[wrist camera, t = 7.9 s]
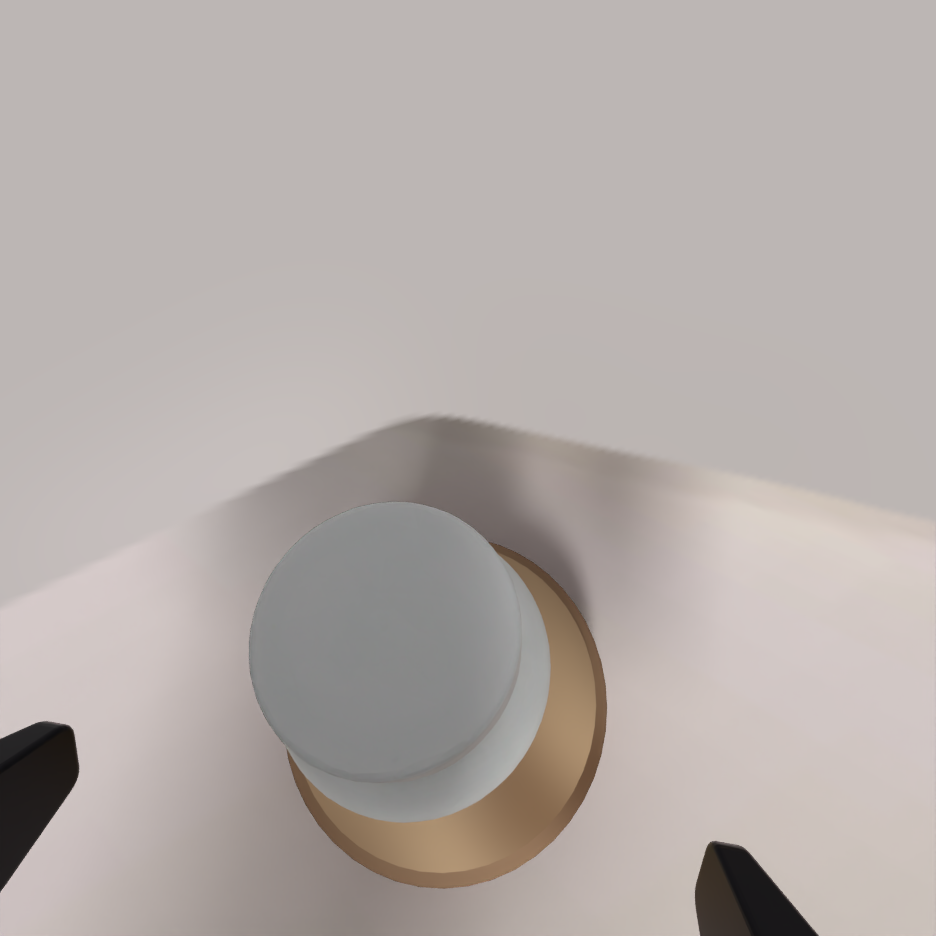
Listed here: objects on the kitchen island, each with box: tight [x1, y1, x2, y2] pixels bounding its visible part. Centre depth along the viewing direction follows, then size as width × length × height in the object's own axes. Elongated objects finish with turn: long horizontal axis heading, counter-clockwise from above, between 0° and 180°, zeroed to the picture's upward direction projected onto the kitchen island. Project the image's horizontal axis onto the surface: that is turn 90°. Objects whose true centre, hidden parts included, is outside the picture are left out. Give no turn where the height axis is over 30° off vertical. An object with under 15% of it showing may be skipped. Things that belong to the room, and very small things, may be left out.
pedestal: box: [287, 542, 607, 889], centre depth 18 cm, size 10×10×3 cm
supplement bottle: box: [249, 502, 551, 823], centre depth 12 cm, size 5×5×10 cm
